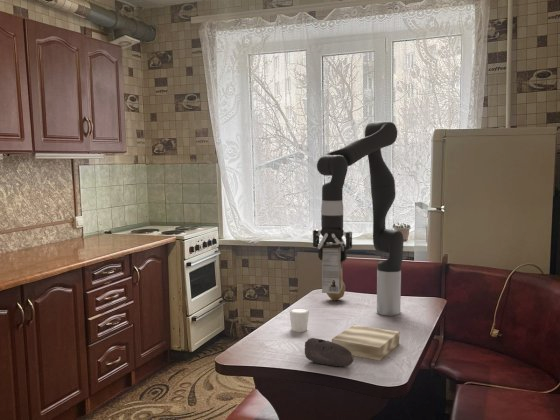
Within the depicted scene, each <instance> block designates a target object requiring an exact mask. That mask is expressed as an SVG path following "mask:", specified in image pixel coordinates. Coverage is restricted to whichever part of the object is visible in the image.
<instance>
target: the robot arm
mask: <svg viewBox="0 0 560 420" xmlns="http://www.w3.org/2000/svg"><path fill="white" fill-rule="evenodd" d="M397 138H398V127H397V126H396V124H395V123H394V122H392V121H372V122H371V121H370V122H368V123H367V124H366V126H365V129H364V137H362V138H359V139H355V140H353V141H351V142H348V143H347V144H345V145H344V146H342V147H340V148H339V149H336V150H333V151H330V152H326V153H325V154H323V155H321V156H320V157H319V159H318V160H317V164H316V168H317V169H316V170H317V171H318V173H319V174H320V175H322V176H325V177H326V176H327V177H328V176H331V178H330V181H329V182H326V183H323V184H322V188H321V205H320V206H321V209H320V213H321V216H320V217H321V218H320V221H321V223H320V224H321V225H320V226H321V229H313V230H312V247H314V248H317V251H318V252H317V254H318V258H319V260H320V261H322V246H323V245H324V244H326V243H337V245H338V246H340V247H341V250H342V251H341V262H342V263H344V262H346V260H347V259H348V256H347V255H348V253H347V252H348V250H351V249H353V232H352V231H350V230H349V231H344V203H343V197H344V196H343V188H344V184H345V182H346V181H345V180H346V176H347V173H348V167H350V166H352V165H354V164H355V163H357V162H359V160H361V159H362V158H365V157H367V160H368V167H369V177H370V178H369V179H370V193H371V204H372V225H373V226H372V244H373V247H374V249H375V251H377V252H380V253H386V254H389V255H388V258H387V259H384V260H381V261H379V262H377V265H376V266H377V267H376V280H377V281H376V313H377V314H378V315H383V316H398V315H400V314H401V305H402V304H401V301H402V300H401V298H402V295H401V291H402V265H403V259H404V258H403V257H404V256H403V255H404V243H405V242H404V235H403V233H402V231H400V229H399V230H398V229H388V228H386V218H387V214H388V212H389V210H390V209H391V207H392V206H393V203H394V201H395V199H396V182H395V177H394V175H393V173H392V172H391V170H390V169H389V166H387V164H386V162H385V161H384V159H383V156H382V150H381V149H383V148H387V147H389V146H392V145H393V144H395V142H396V140H397ZM320 236H322V238H321V240H320ZM343 237H344V238H345V241H344V239H343Z"/></svg>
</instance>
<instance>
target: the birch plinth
mask: <svg viewBox="0 0 560 420" xmlns="http://www.w3.org/2000/svg"><path fill="white" fill-rule="evenodd" d="M331 342H333V343H336V344H339V345H341V346H343V347H345V348H346V349H348V350H349V351H350V352H351V354H352V356H355V357H360V358H364V359H371V360H375V361H381V360H382V359H384V357H385V356H386V355H388V354H389V353H390V352H391V351H392V350H393V349H395V348H396V347H397V346H399V344H400V331H396V330H392V329H391V330H390V329H385V328H378V327H372V326H366V325H359V324H353V325H352V326H351V325H350V327H348V328H347V329H345V330H343V331H342V332H340V333H339V334H337V335H336V336H334V337H332V338H331Z"/></svg>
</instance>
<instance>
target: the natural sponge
mask: <svg viewBox="0 0 560 420" xmlns="http://www.w3.org/2000/svg"><path fill="white" fill-rule="evenodd" d="M342 286H343V287H342V290H341V292H340V293H326V295H327V296H328V297H329V298H330V300H332V301H338V300H340V299H342V298H343V297H344V295H345V292H346V284H345V282H344V281H343V280H342Z"/></svg>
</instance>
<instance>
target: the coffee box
mask: <svg viewBox="0 0 560 420" xmlns="http://www.w3.org/2000/svg"><path fill="white" fill-rule="evenodd" d="M341 251H342V250H341V247H340V246H338V245H337V243H331V242H330V243H326V244H324V245H323V246H322V260H321V293H322V294H327V293H340V292H341V290H342V287H343V286H342V281H343V262H341Z"/></svg>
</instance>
